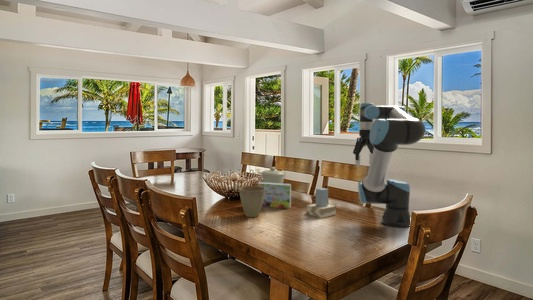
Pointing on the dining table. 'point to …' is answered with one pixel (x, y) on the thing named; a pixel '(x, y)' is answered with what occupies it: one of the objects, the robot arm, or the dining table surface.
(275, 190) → the snack box
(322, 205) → the slate-blue block
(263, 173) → the canister
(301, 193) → the dining table surface
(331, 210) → the maple riser
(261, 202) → the plant pot
